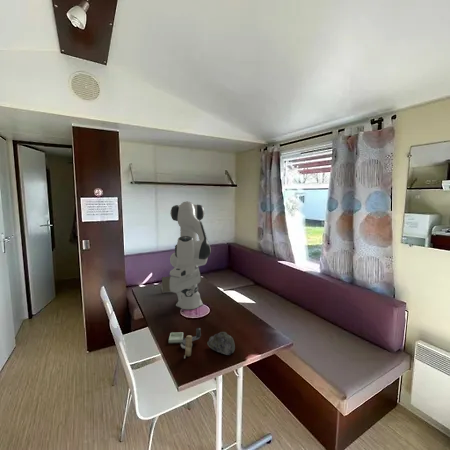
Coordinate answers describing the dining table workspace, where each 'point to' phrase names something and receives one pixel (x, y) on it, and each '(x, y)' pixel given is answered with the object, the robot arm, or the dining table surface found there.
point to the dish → (176, 337)
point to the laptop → (165, 284)
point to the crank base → (183, 348)
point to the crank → (198, 335)
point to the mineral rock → (222, 343)
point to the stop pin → (188, 345)
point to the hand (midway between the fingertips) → (186, 296)
